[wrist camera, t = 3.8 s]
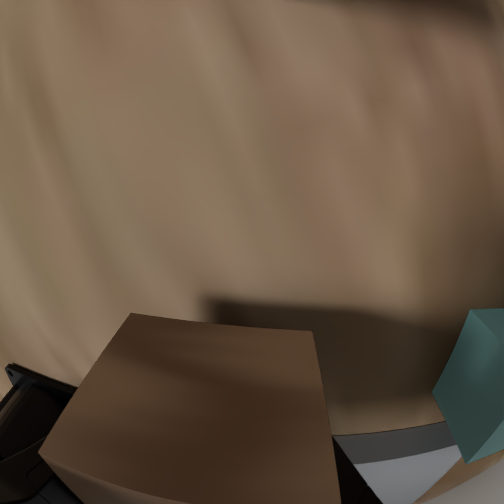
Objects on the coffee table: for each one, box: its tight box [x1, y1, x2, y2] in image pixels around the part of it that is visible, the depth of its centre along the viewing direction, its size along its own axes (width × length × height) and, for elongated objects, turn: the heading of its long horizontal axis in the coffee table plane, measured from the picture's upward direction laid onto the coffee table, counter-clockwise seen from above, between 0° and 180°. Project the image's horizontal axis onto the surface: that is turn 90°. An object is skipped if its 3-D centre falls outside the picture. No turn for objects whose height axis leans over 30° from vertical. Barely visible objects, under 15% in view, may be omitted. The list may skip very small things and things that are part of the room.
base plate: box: [333, 421, 462, 504], centre depth 15 cm, size 16×14×2 cm
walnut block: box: [38, 313, 341, 504], centre depth 7 cm, size 6×6×6 cm
